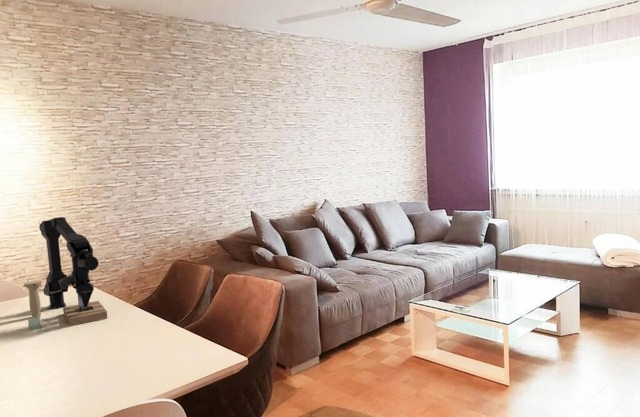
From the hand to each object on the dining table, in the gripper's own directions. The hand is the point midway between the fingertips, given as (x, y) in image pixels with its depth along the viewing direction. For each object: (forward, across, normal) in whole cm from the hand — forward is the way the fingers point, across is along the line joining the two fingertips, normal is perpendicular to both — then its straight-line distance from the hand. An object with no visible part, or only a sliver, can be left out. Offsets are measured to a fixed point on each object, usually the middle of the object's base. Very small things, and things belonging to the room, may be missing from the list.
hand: (83, 304), depth 203 cm
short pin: (+5, +3, -18) cm, 19 cm away
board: (+5, 0, 0) cm, 5 cm away
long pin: (+5, 0, 0) cm, 5 cm away
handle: (+5, -14, -17) cm, 23 cm away
